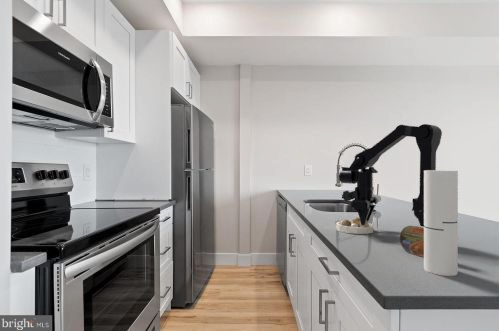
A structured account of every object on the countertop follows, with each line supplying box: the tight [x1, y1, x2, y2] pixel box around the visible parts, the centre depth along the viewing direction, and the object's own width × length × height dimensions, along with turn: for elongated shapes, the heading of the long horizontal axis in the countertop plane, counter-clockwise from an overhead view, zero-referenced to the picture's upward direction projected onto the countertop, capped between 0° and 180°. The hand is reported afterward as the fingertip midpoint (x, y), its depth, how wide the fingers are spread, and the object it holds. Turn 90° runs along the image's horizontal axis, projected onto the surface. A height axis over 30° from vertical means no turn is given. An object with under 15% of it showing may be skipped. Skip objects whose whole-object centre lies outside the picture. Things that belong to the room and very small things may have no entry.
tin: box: [399, 225, 424, 259], centre depth 88 cm, size 15×3×8 cm, turn 25°
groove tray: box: [335, 220, 374, 235], centre depth 123 cm, size 14×14×2 cm
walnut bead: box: [342, 219, 351, 227], centre depth 122 cm, size 4×4×4 cm
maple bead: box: [360, 221, 370, 227], centre depth 121 cm, size 4×4×4 cm
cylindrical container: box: [423, 169, 459, 277], centre depth 76 cm, size 7×7×25 cm
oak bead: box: [351, 217, 360, 226], centre depth 127 cm, size 4×4×4 cm
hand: (364, 223), depth 121 cm, fingers open, 5 cm apart
